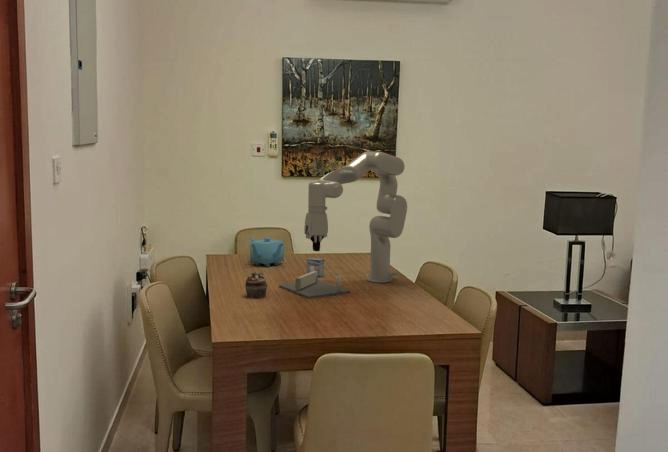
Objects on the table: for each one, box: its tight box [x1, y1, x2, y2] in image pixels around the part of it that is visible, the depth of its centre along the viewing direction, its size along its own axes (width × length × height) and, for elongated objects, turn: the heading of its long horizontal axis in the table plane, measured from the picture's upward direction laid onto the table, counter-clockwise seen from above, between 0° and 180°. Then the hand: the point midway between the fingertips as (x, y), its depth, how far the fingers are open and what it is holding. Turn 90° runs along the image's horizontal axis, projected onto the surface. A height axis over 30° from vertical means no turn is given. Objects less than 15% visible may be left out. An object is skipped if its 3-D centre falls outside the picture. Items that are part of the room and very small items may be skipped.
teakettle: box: [249, 237, 286, 268], centre depth 346 cm, size 19×19×15 cm
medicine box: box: [305, 257, 325, 278], centre depth 320 cm, size 8×4×9 cm, turn 68°
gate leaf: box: [294, 271, 318, 290], centre depth 292 cm, size 2×19×5 cm, turn 156°
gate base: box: [278, 267, 351, 300], centre depth 290 cm, size 22×25×8 cm
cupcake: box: [245, 272, 268, 299], centre depth 276 cm, size 10×10×10 cm
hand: (316, 250), depth 285 cm, fingers closed
